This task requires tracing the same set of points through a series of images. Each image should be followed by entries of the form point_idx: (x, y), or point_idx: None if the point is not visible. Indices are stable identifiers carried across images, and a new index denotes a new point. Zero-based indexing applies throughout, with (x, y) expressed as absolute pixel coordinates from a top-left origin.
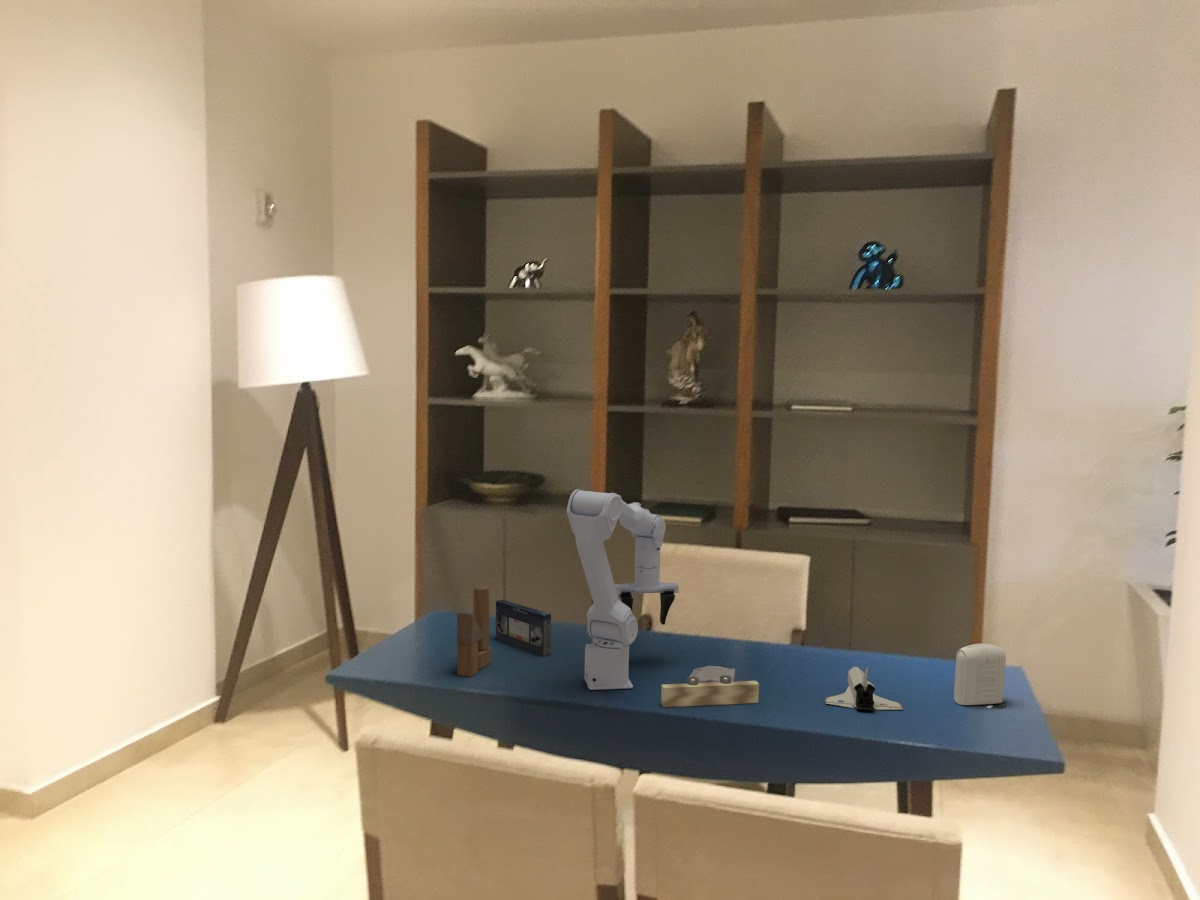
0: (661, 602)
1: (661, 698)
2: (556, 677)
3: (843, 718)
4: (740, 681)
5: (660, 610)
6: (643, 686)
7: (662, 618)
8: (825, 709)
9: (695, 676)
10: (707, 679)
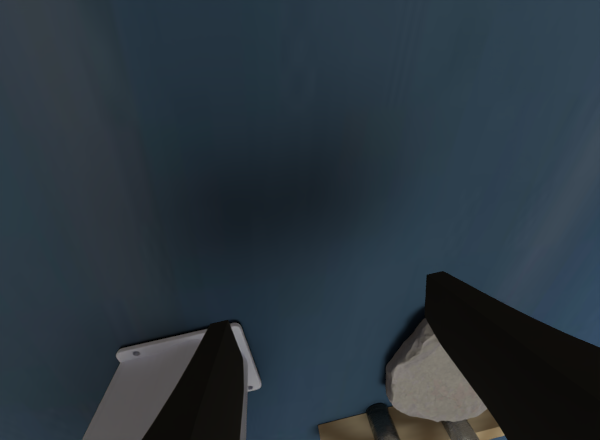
0: (566, 417)
1: (320, 438)
2: (28, 353)
3: None
4: (493, 428)
5: (490, 322)
6: (286, 364)
7: (449, 350)
8: None
9: (417, 361)
10: (432, 419)
